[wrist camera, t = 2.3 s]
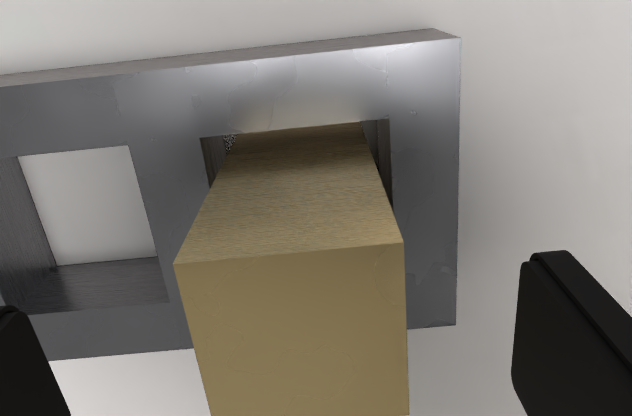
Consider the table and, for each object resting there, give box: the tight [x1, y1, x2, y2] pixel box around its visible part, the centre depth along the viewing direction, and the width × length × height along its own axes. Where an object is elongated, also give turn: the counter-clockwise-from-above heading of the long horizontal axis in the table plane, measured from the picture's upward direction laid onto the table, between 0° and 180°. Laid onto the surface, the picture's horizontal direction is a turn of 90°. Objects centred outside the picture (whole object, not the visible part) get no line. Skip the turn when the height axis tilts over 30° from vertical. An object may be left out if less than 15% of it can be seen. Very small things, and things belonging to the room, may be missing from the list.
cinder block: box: [0, 28, 461, 361], centre depth 18 cm, size 18×10×4 cm, turn 96°
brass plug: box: [173, 121, 409, 416], centre depth 15 cm, size 4×4×10 cm
